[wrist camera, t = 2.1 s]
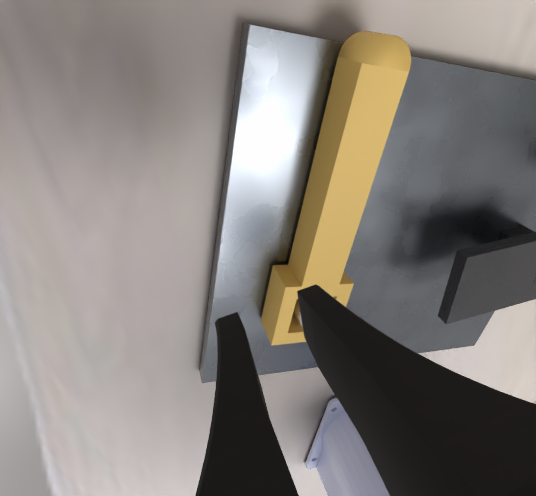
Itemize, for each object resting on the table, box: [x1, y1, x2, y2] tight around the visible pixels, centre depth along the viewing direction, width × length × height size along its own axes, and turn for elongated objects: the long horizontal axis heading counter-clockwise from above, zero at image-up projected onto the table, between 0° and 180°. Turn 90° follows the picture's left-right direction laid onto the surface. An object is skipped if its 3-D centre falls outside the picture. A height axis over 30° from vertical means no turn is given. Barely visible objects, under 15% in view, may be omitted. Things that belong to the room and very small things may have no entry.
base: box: [199, 23, 536, 383], centre depth 23 cm, size 20×23×4 cm
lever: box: [261, 31, 411, 346], centre depth 19 cm, size 16×4×2 cm, turn 170°
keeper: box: [438, 226, 536, 324], centre depth 25 cm, size 8×5×4 cm, turn 92°
